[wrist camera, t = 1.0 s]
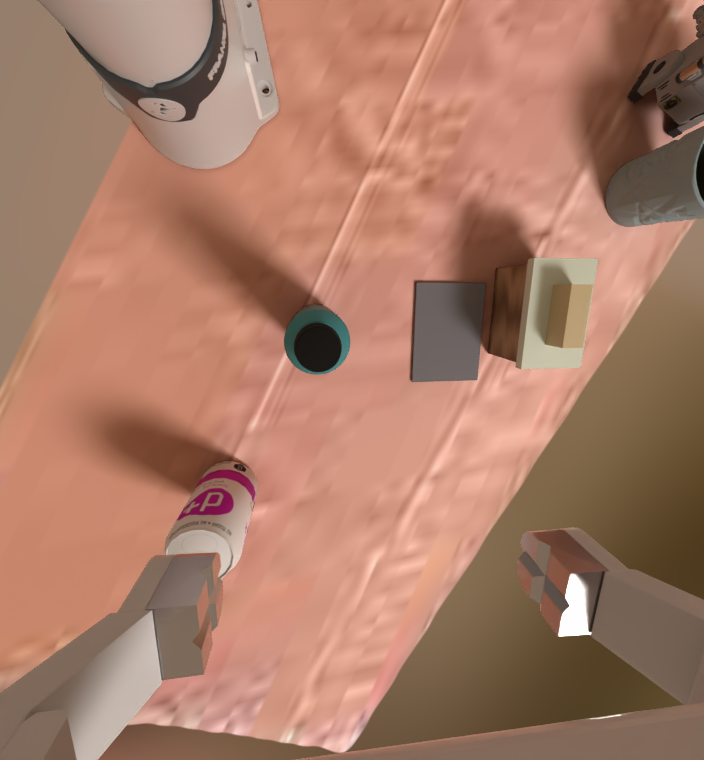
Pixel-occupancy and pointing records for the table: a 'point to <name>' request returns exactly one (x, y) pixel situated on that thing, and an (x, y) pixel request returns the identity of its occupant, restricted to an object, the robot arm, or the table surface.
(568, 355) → the lid
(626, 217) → the gray embossed pot
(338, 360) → the beverage bottle
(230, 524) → the supplement can
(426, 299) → the mat
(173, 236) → the table surface
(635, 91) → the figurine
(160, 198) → the table surface
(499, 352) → the box
